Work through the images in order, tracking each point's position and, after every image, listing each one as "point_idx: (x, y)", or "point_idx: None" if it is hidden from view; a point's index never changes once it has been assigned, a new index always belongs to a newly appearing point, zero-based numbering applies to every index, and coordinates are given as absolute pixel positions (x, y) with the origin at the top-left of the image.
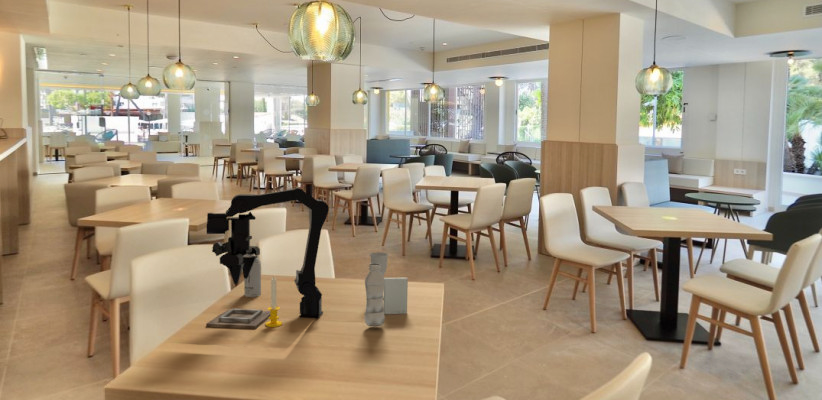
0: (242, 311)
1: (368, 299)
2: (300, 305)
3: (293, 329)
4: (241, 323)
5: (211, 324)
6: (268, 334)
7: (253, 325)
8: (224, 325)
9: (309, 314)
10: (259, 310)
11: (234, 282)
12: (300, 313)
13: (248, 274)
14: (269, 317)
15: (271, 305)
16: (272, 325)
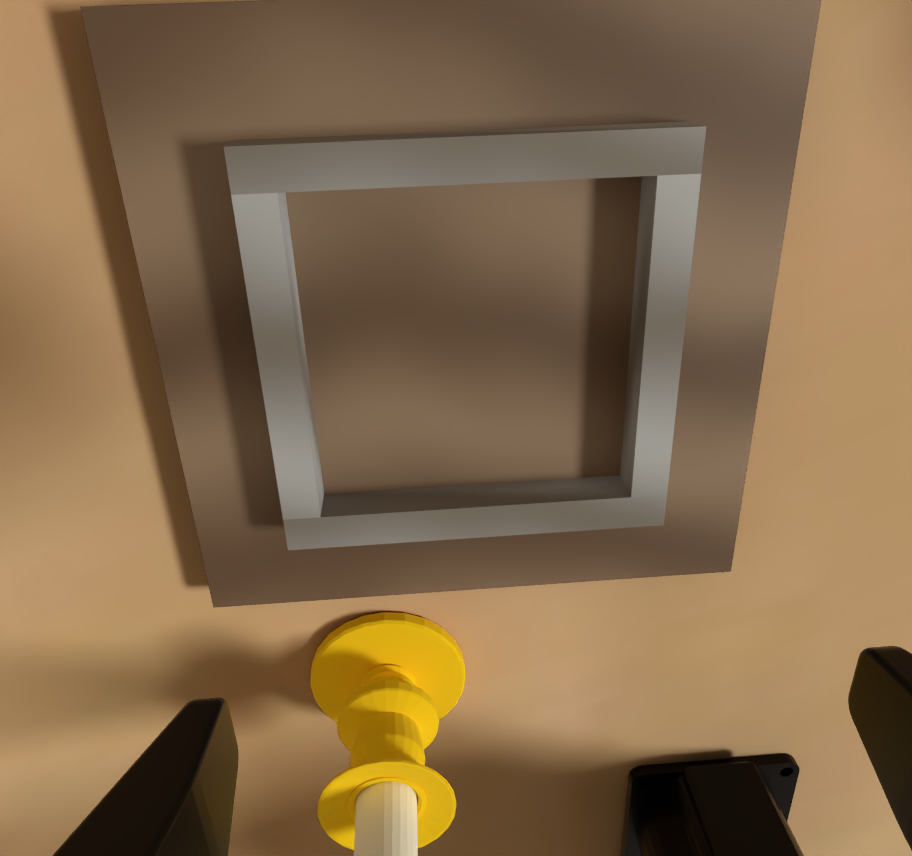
0: (642, 295)
1: None
2: (712, 845)
3: (304, 825)
4: (240, 452)
5: (103, 94)
6: (120, 725)
7: (216, 586)
8: (144, 280)
9: (640, 847)
10: (634, 506)
11: (168, 744)
12: (685, 776)
13: (902, 827)
14: (358, 705)
15: (359, 834)
16: (316, 696)
